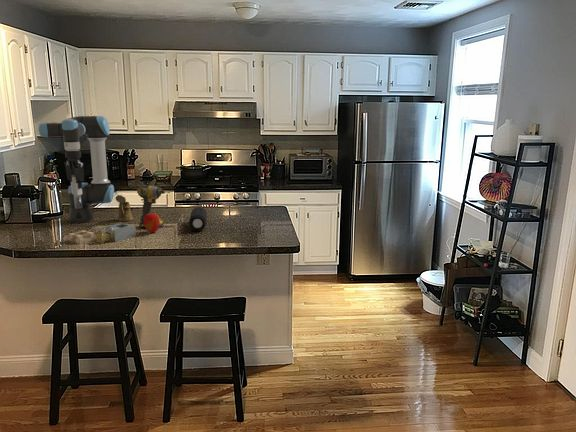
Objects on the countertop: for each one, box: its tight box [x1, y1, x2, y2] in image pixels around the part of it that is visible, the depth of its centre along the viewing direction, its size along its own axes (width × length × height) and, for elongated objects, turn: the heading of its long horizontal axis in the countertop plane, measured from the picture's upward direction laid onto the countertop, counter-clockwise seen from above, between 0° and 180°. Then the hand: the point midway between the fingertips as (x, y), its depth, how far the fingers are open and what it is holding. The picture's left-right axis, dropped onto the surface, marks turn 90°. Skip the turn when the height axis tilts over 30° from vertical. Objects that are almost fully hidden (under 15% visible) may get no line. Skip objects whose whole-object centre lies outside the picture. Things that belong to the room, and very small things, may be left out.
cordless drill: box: [136, 184, 171, 229], centre depth 285 cm, size 9×20×25 cm, turn 78°
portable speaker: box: [188, 206, 208, 232], centre depth 289 cm, size 26×10×10 cm, turn 8°
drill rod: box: [71, 174, 82, 209], centre depth 254 cm, size 4×4×18 cm
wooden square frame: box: [68, 229, 96, 245], centre depth 261 cm, size 9×9×4 cm
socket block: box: [101, 222, 137, 242], centre depth 267 cm, size 11×14×6 cm
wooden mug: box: [115, 194, 133, 223], centre depth 300 cm, size 9×14×18 cm, turn 2°
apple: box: [143, 212, 160, 234], centre depth 276 cm, size 9×9×12 cm
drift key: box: [95, 233, 111, 244], centre depth 260 cm, size 4×10×4 cm, turn 148°
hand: (77, 194), depth 255 cm, fingers closed on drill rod, 3 cm apart
